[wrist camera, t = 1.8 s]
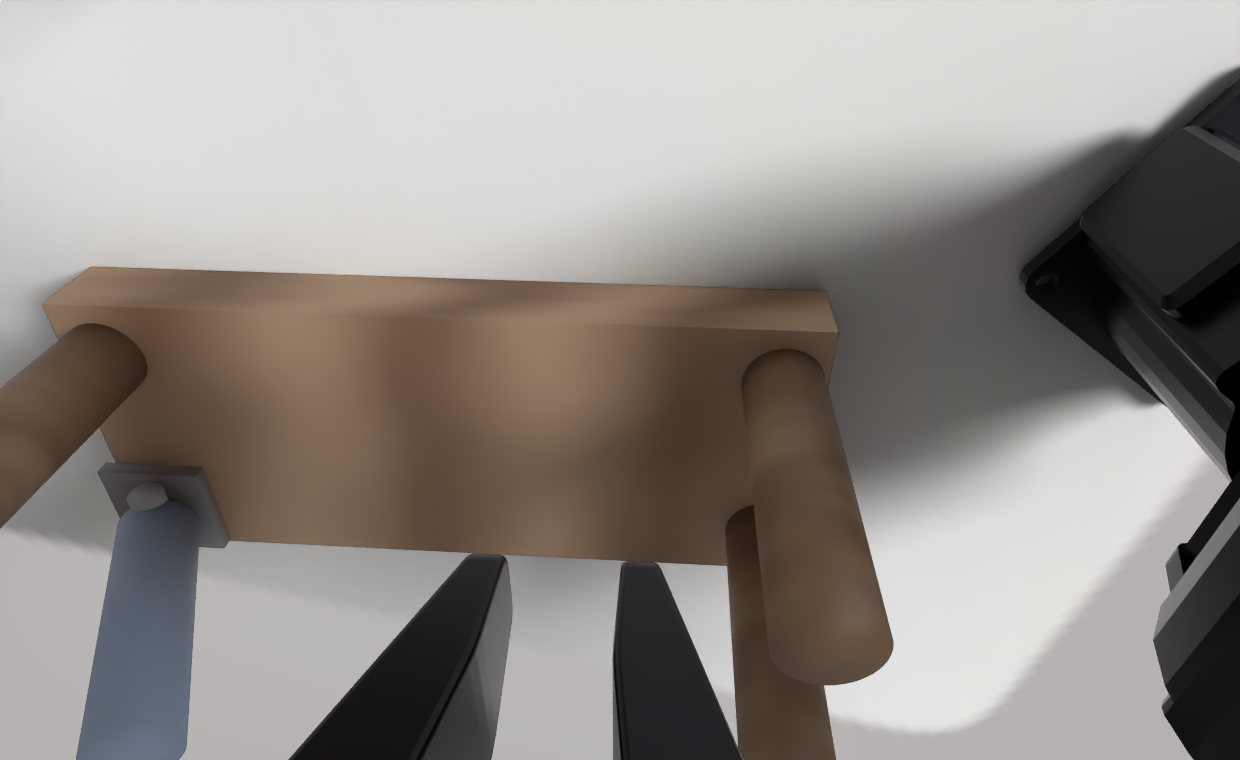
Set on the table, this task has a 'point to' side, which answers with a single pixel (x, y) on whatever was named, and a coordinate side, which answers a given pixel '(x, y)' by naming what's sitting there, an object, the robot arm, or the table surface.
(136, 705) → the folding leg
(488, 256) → the table surface
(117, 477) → the stool
